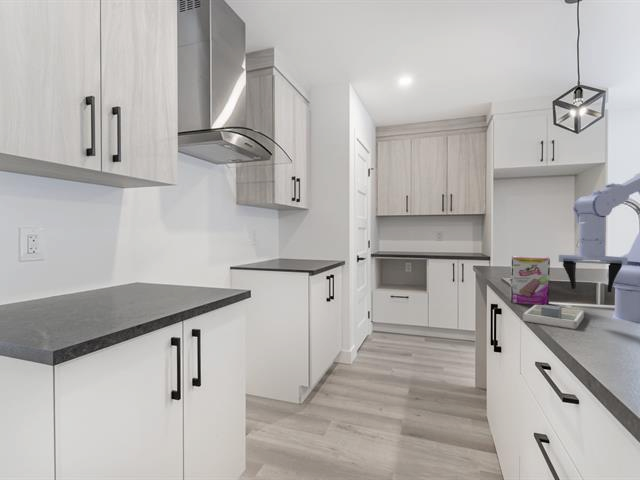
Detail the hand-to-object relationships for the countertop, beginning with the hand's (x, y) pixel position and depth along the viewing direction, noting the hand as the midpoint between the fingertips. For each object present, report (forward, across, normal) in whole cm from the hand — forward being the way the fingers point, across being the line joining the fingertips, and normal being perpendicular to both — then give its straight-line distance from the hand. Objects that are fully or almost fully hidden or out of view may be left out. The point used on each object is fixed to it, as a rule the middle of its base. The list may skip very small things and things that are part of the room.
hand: (591, 289), depth 93 cm
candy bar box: (+10, -18, +16) cm, 26 cm away
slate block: (+9, -8, -6) cm, 13 cm away
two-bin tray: (+9, -8, -2) cm, 13 cm away
